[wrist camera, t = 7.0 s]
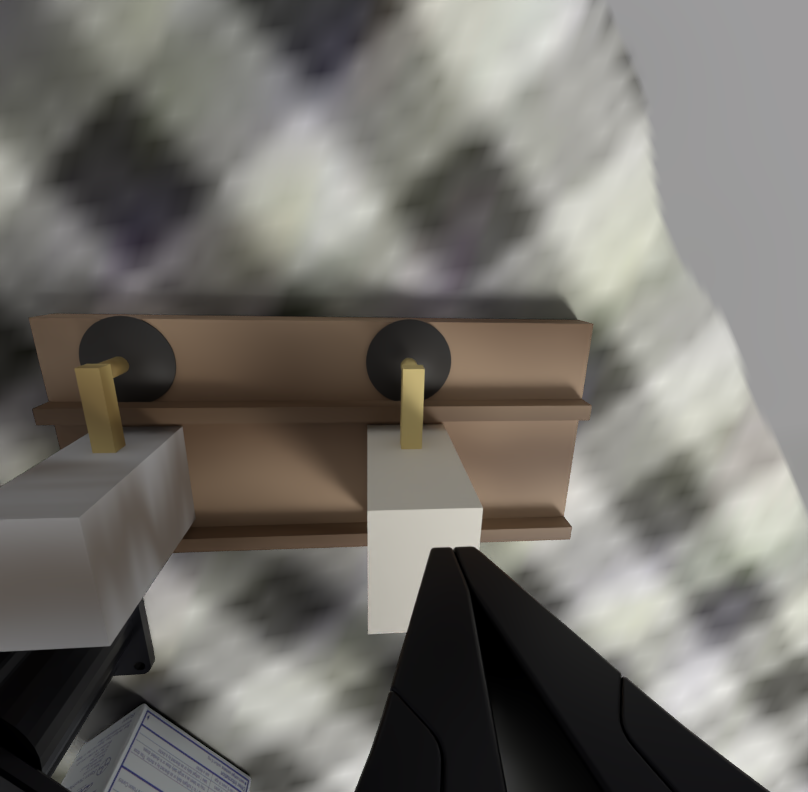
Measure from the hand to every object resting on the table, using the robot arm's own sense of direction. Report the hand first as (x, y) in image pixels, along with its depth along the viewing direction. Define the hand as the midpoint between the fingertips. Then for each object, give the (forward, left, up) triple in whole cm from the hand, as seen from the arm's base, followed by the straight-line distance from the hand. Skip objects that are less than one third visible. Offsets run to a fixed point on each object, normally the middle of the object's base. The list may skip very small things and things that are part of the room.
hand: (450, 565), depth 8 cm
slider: (-1, 0, -9) cm, 9 cm away
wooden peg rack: (-1, +3, -10) cm, 10 cm away
